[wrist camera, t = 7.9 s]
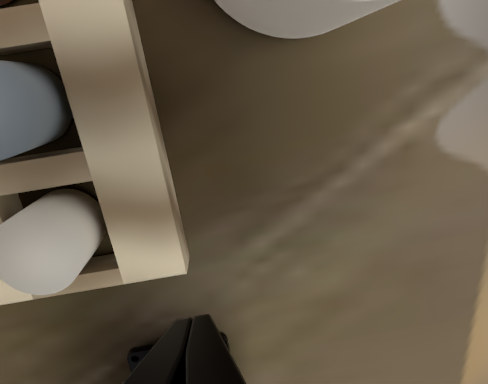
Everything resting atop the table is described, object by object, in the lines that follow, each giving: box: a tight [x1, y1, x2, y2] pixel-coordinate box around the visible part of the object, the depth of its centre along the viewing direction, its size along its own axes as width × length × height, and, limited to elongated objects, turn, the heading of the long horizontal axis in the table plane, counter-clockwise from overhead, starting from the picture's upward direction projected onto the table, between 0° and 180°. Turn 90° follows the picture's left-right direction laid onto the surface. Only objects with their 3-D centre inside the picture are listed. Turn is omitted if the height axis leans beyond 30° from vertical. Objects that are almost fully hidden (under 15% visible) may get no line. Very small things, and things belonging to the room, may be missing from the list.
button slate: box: [0, 60, 72, 160], centre depth 16 cm, size 4×4×4 cm
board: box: [0, 0, 190, 305], centre depth 17 cm, size 20×12×2 cm, turn 9°
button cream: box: [0, 189, 107, 295], centre depth 18 cm, size 4×4×4 cm
